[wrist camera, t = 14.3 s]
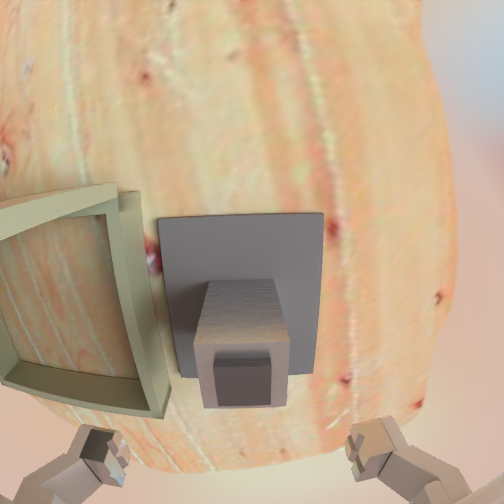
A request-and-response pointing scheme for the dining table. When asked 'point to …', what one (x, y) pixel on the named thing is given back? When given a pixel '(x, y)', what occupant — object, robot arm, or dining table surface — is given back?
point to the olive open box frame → (130, 295)
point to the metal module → (242, 345)
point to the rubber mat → (244, 272)
